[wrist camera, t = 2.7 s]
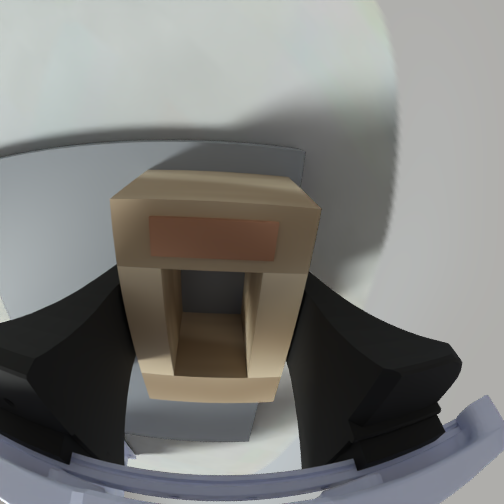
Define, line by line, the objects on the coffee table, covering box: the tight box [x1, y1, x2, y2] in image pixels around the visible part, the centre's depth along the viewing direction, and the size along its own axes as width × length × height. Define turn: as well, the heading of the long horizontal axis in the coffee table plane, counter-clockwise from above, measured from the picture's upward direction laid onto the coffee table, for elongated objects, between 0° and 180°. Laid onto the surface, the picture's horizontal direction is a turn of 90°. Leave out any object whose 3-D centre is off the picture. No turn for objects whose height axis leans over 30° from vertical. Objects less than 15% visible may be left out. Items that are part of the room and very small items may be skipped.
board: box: [0, 140, 306, 442], centre depth 12 cm, size 22×16×4 cm
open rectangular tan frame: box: [110, 170, 322, 403], centre depth 9 cm, size 8×5×4 cm, turn 174°
